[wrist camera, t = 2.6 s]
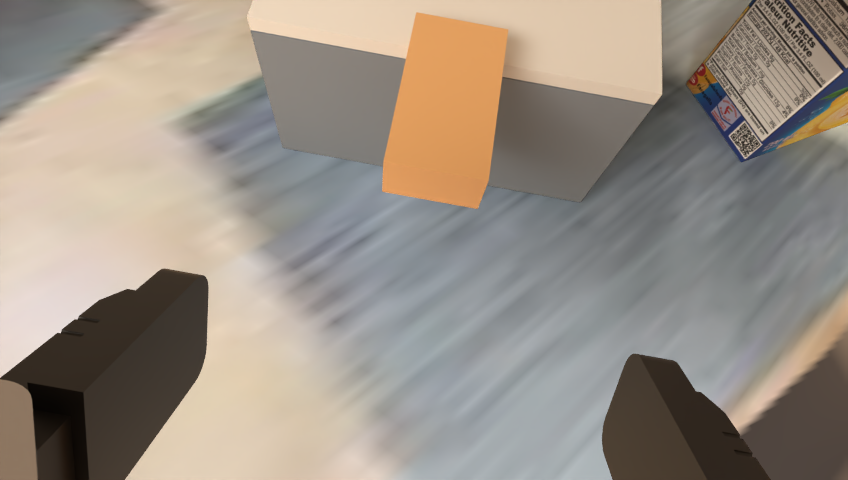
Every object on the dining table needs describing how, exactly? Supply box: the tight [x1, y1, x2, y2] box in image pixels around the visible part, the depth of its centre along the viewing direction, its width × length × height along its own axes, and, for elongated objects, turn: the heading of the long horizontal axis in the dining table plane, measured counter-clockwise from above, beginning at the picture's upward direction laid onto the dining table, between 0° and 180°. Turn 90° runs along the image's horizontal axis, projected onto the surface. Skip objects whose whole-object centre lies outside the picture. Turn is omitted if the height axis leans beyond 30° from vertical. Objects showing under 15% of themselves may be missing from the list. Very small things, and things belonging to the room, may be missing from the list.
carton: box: [251, 30, 653, 202], centre depth 34 cm, size 19×16×10 cm
